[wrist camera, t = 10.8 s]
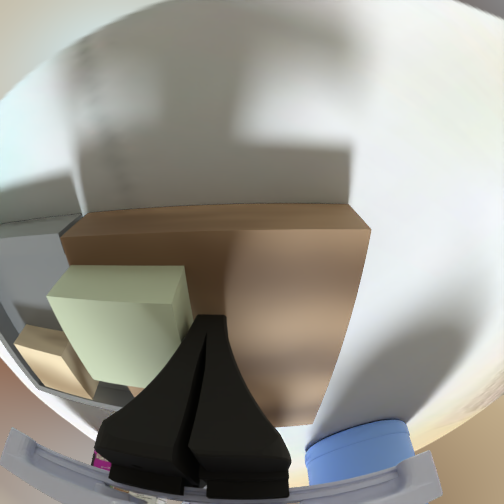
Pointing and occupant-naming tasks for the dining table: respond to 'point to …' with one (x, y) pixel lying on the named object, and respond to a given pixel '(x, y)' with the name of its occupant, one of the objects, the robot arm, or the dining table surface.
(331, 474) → the water jug
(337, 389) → the dining table surface
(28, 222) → the tray
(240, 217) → the walnut board
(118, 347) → the sage tile
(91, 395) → the ash block
